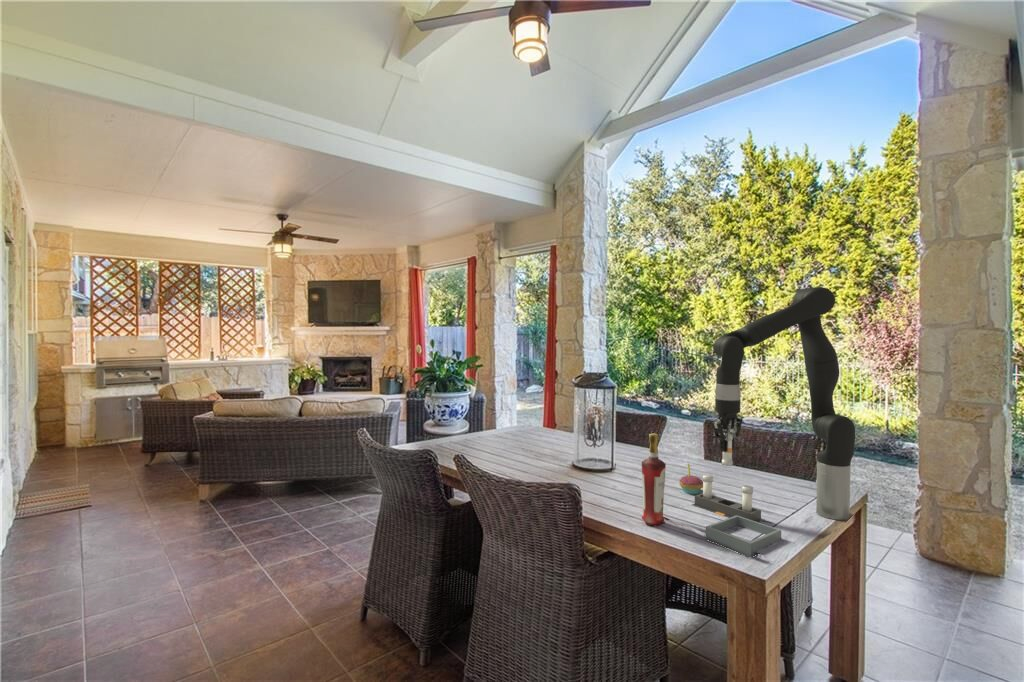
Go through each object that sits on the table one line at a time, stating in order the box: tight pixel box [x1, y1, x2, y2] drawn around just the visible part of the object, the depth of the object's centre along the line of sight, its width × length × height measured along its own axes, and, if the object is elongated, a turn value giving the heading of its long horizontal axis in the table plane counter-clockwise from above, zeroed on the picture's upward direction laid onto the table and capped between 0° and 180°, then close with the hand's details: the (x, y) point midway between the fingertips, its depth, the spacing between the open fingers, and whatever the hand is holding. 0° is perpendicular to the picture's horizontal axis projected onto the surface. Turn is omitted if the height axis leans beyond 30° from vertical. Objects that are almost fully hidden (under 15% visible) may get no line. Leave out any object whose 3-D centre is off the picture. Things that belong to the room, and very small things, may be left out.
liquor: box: [641, 433, 667, 526], centre depth 156 cm, size 7×7×28 cm
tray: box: [705, 515, 782, 558], centre depth 142 cm, size 16×14×4 cm
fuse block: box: [691, 492, 765, 523], centre depth 161 cm, size 8×21×4 cm, turn 34°
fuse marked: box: [721, 433, 734, 467], centre depth 161 cm, size 3×3×10 cm
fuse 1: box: [702, 474, 714, 500], centre depth 167 cm, size 3×3×10 cm
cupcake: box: [678, 462, 703, 495], centre depth 181 cm, size 9×8×12 cm
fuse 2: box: [741, 485, 754, 513], centre depth 155 cm, size 3×3×10 cm
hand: (727, 450), depth 161 cm, fingers closed on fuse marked, 3 cm apart
